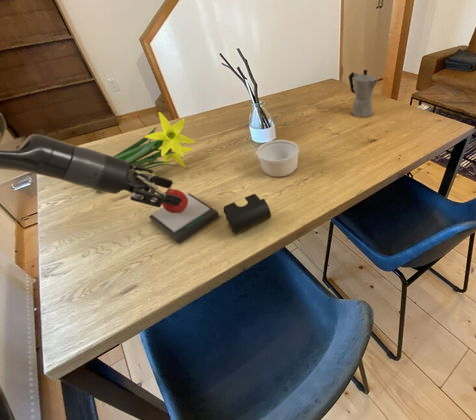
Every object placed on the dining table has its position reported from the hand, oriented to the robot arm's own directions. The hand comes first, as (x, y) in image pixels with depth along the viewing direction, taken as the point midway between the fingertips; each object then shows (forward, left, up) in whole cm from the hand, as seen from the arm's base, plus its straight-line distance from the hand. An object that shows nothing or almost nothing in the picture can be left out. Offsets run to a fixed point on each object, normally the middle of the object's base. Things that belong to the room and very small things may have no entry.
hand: (175, 193), depth 69 cm
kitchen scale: (0, 0, -9) cm, 9 cm away
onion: (-1, 0, -6) cm, 6 cm away
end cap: (+9, -16, -9) cm, 20 cm away
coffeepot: (+87, -2, -9) cm, 87 cm away
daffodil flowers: (+4, +27, -9) cm, 29 cm away
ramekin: (+33, -4, -9) cm, 34 cm away
